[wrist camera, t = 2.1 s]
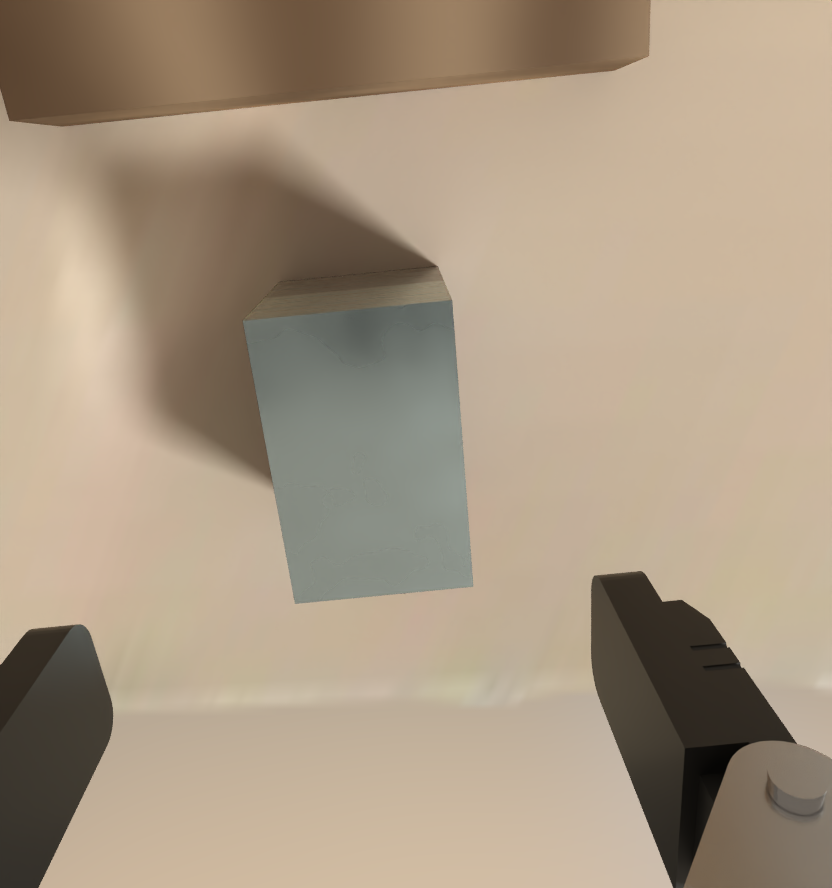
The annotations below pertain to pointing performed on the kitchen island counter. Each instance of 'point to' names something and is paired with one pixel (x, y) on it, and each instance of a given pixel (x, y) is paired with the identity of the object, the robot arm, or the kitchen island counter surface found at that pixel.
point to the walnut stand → (290, 51)
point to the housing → (364, 432)
